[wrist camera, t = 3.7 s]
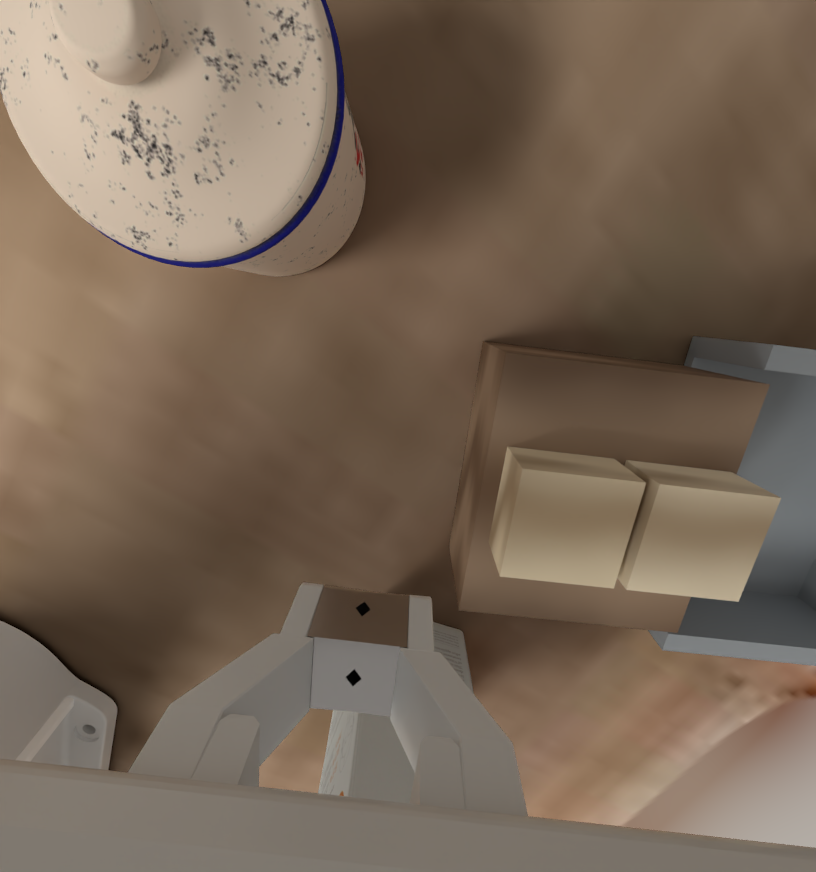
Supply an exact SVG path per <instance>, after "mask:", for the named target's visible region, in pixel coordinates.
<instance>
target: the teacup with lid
mask: <svg viewBox="0 0 816 872" xmlns="http://www.w3.org/2000/svg"><path fill="white" fill-rule="evenodd" d="M0 91H1V94H2V97H3V101H4V104H5V106H6V109H7V111H8V114H9V116H10V119H11V121H12V123H13V125H14V127H15V130H16V132H17V134H18V136H19V138H20V140H21V141H22V143H23V145H24V147H25V148H26V150H27V152H28V153H29V155H30V157H31V159H32V160H33V162H34V163H35V165H36V166H37V167H38V169H39V170H40V172H41V173H42V175H43V176H44V177H45V179H46V180H47V181H48V182H49V184H50V185H51V186H52V187H53V189H54V190H55V191H56V192H57V193H58V194H59V196H60V197H61V198H62V199H63V200H64V201H65V202H66V203H67V204H68V205H69V206H70V207H71V208H72V209H73V210H74V211H75V212H77V213H78V214H79V215H80V216H81V217H82V218H83V219H85V220H86V221H87V222H88V223H89V224H90V225H92V226H93V227H94V228H96V229H97V230H98V231H100V232H101V233H102V234H103V235H105V236H106V237H108V238H110V239H111V240H113V241H114V242H116V243H117V244H119V245H121V246H123V247H125V248H127V249H128V250H130V251H132V252H135V253H137V254H139V255H142V256H144V257H147V258H149V259H152V260H156V261H159V262H162V263H166V264H171V265H176V266H183V267H192V268H209V267H219V266H222V267H227V268H231V269H236V270H241V271H246V272H251V273H255V274H260V275H265V276H292V275H296V274H301V273H304V272H307V271H309V270H312V269H314V268H316V267H318V266H320V265H321V264H323V263H324V262H326V261H327V260H329V259H330V258H331V257H332V256H333V255H334V254H336V253H337V252H338V251H339V249H340V248H341V247H342V246H343V245H344V244H345V242H346V241H347V239H348V238H349V236H350V235H351V233H352V231H353V229H354V227H355V225H356V223H357V221H358V218H359V215H360V212H361V209H362V205H363V200H364V194H365V182H366V174H365V161H364V155H363V150H362V146H361V142H360V139H359V135H358V132H357V129H356V126H355V122H354V119H353V116H352V113H351V109H350V106H349V103H348V100H347V96H346V93H345V90H344V74H343V65H342V57H341V52H340V47H339V42H338V37H337V34H336V30H335V27H334V23H333V20H332V16H331V14H330V11H329V8H328V5H327V3H326V0H0Z"/></svg>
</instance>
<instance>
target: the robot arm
mask: <svg viewBox="0 0 816 872" xmlns="http://www.w3.org/2000/svg"><path fill="white" fill-rule="evenodd" d="M309 708H316V709H328V710H341V711H352V712H359V713H366V714H373V715H379V716H386V717H390V720H391V722H392V725H393V727H394V729H395V731H396V733H397V735H398V738H399V740H400V742H401V744H402V746H403V748H404V751H405V753H406V755H407V757H408V759H409V761H410V764H411V766H412V768H413V770H414V772H415V776H414V782H413V787H412V793H411V798H410V803H402V802H393V801H384V800H375V799H366V798H357V797H347V796H338V795H329V794H320V793H311V792H302V791H292V790H283V789H274V788H265V787H259V766H260V765H261V764H262V763H263V762H264V761H265V760H266V759H267V757H268V756H269V755H270V754H271V753H272V752H273V751H274V750H275V748H276V747H277V746H278V745H279V744H280V743H281V742H282V741H283V739H284V738H285V737H286V736H287V735H288V734H289V733H290V732H291V731H292V729H293V728H294V727H295V726H296V725H297V724H298V723H299V722H300V720H301V719H302V718H303V717H304V716H305V715H306V714H307V713H308V711H309ZM116 717H117V706H116V704H115V702H114V701H113V700H112V699H111V698H110V697H108V696H107V695H106V694H104V693H102V692H101V691H99V690H98V689H96V688H94V687H92V686H90V685H89V684H87V683H85V682H83V681H81V680H79V679H78V678H77V677H75V676H74V675H73V674H72V673H71V672H70V671H69V670H68V669H67V668H66V667H65V666H64V665H63V664H62V663H61V662H60V661H59V660H58V659H57V658H56V657H55V656H54V655H53V654H52V653H51V652H50V651H49V650H48V649H47V648H45V647H44V646H43V645H42V644H40V643H39V642H38V641H36V640H35V639H33V638H32V637H30V636H29V635H27V634H26V633H24V632H22V631H21V630H19V629H17V628H15V627H13V626H11V625H9V624H7V623H4V622H2V621H0V872H816V848H812V847H803V846H794V845H785V844H776V843H766V842H758V841H748V840H739V839H730V838H722V837H712V836H703V835H693V834H685V833H675V832H667V831H658V830H649V829H639V828H630V827H621V826H612V825H603V824H594V823H585V822H576V821H567V820H557V819H548V818H539V817H530V816H528V814H527V809H526V804H525V800H524V795H523V790H522V785H521V780H520V776H519V771H518V766H517V761H516V757H515V752H514V747H513V743H512V742H511V741H510V739H509V738H508V737H507V736H506V734H505V733H504V732H503V731H502V729H501V728H500V727H499V725H498V724H497V723H496V722H495V720H494V719H493V718H492V717H491V715H490V714H489V713H488V712H487V710H486V709H485V708H484V707H483V705H482V704H481V703H480V701H479V700H478V699H477V698H476V696H475V695H474V694H473V693H472V691H471V690H470V689H469V688H468V686H467V685H466V684H465V682H464V681H463V680H462V679H461V677H460V676H459V675H458V674H457V672H456V671H455V670H454V669H453V667H452V666H451V665H450V664H449V662H448V661H447V660H446V658H445V657H444V656H443V655H442V653H440V652H434V637H433V614H432V599H431V597H429V596H418V595H401V594H392V593H383V592H374V591H367V590H360V589H353V588H346V587H339V586H331V585H322V584H315V583H307V582H303V583H302V584H301V585H300V586H299V589H298V591H297V594H296V596H295V598H294V601H293V603H292V606H291V608H290V610H289V613H288V615H287V618H286V620H285V622H284V625H283V627H282V630H281V632H280V634H275V633H273V634H271V635H270V636H268V637H267V638H265V639H264V640H263V641H261V642H260V643H258V644H257V645H255V646H254V647H252V648H251V649H249V650H248V651H246V652H245V653H244V654H242V655H241V656H239V657H238V658H236V659H235V660H233V661H232V662H230V663H229V664H228V665H226V666H225V667H223V668H222V669H220V670H219V671H217V672H216V673H214V674H213V675H212V676H210V677H209V678H207V679H206V680H204V681H203V682H201V683H200V684H198V685H197V686H196V687H194V688H193V689H191V690H190V691H188V692H187V693H185V694H184V695H182V696H181V697H180V698H178V699H177V700H175V701H174V702H172V703H171V704H170V705H169V706H168V708H167V710H166V711H165V713H164V714H163V716H162V718H161V719H160V721H159V723H158V724H157V726H156V727H155V729H154V731H153V732H152V734H151V735H150V737H149V739H148V740H147V742H146V744H145V745H144V747H143V748H142V750H141V752H140V753H139V755H138V757H137V758H136V760H135V761H134V763H133V765H132V766H131V768H130V769H129V771H128V772H120V771H110V770H108V769H109V763H110V756H111V750H112V743H113V737H114V730H115V724H116Z"/></svg>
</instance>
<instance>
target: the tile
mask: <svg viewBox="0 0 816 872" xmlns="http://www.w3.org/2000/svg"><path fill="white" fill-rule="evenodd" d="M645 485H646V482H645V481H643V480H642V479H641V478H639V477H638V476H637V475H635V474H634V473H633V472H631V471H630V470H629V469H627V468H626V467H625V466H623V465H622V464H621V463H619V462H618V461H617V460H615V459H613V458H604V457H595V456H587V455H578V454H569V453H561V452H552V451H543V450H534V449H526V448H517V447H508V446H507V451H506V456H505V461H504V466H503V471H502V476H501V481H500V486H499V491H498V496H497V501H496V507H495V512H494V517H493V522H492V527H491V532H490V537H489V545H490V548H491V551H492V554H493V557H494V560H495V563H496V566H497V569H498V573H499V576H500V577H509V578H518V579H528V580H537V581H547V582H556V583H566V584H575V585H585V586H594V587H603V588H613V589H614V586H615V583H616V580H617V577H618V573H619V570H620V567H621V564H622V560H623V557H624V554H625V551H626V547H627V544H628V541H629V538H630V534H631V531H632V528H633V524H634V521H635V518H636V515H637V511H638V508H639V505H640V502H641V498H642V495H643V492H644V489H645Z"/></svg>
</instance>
